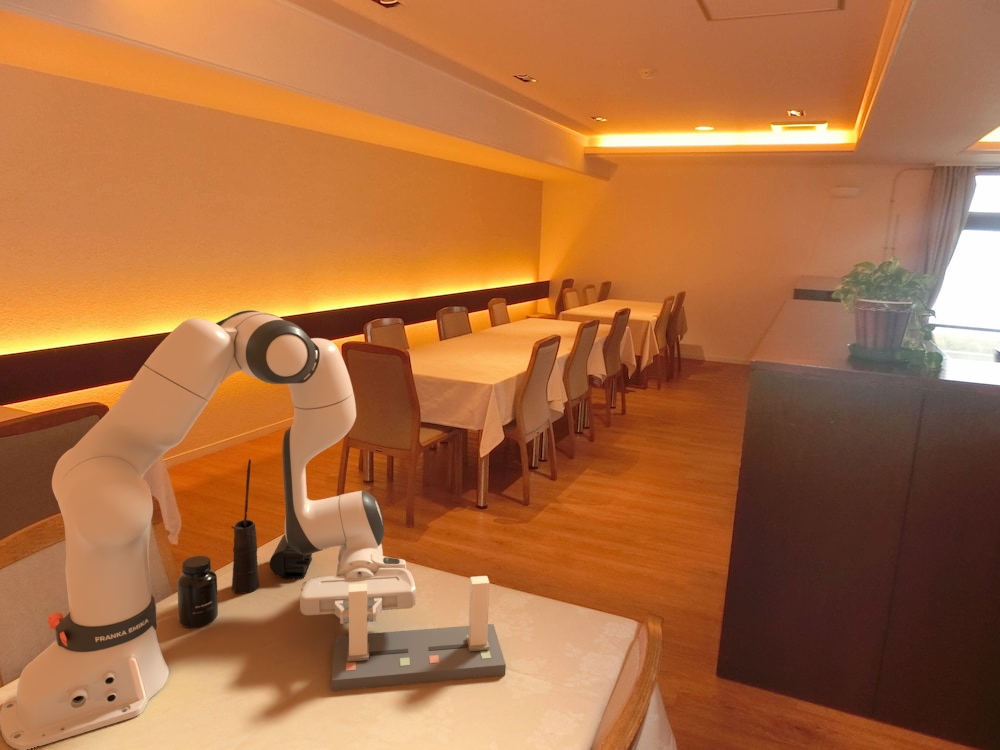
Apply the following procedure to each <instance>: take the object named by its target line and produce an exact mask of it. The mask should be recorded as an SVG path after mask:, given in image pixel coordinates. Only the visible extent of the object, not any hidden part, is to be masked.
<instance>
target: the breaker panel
mask: <svg viewBox="0 0 1000 750" xmlns="http://www.w3.org/2000/svg"><path fill="white" fill-rule="evenodd" d="M466 635H469V625H464V626H462V625H460V626H449V627H448V626H446V627H438V628H436V627H434V628H423V629H421V628H420V629H409V630H397V631H383V632H373V633H372V632H370V633H367V643H369V660H361V661H349V662H347V656H348V645H349V634H346V635H345V634H344V635H335V640H334V649H333V650H334V651H333V659H332V660H333V661H332V668H331V670H332V671H331V680H330V681H331V684H330V685H331V692H334V691H347V690H356V689H357V690H358V689H367V688H369V689H370V688H378V687H379V688H380V687H390V686H391V687H392V686H399V685H400V686H401V685H410V684H411V685H412V684H420V683H421V684H422V683H424V684H425V683H433V682H443V681H453V680H454V681H455V680H464V679H465V680H466V679H474V678H475V679H477V678H487V677H497V676H498V677H499V676H505V675H506V672H507V671H506V670H507V667H506V666H507V665H506V661H505V657H504V654H503V651H502V647H501V643H500V641H499V638H498V634H497V631H496V628H495V625H494V623H488V635H487V640H488V643H489V647H490V649H489V650H478V651H469V648H468V643H467V639H466Z"/></svg>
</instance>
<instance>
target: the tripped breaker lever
mask: <svg viewBox="0 0 1000 750" xmlns="http://www.w3.org/2000/svg"><path fill="white" fill-rule="evenodd" d="M367 634H368V622H367V583H366V584H350V585H349V623H348V635H349V645H348V656H347V662H349V661H361V660H369V643H367Z"/></svg>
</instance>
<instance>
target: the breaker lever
mask: <svg viewBox="0 0 1000 750" xmlns="http://www.w3.org/2000/svg"><path fill="white" fill-rule="evenodd" d="M469 578H470V579H469V580H470V581H469V582H470V585H469V588H470V589H469V611H468V612H469V613H468V615H469V617H468V626H469V635H466V639H467V643H468V648H469V651H478V650H489V649H490V647H489V643H488V640H487V635H488V624H489V605H490V580H489V578H488V576H487V575H477V576H470V577H469Z"/></svg>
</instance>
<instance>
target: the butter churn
mask: <svg viewBox="0 0 1000 750" xmlns="http://www.w3.org/2000/svg"><path fill="white" fill-rule="evenodd" d="M251 462H252V461H251V459H248V463H247V469H246V486H245V500H244V514H243V515H244V517H243V519H242V520H238V522H236V524H235V525H231V528H232V529H233V530H234V531H233V534H234V535H233V536H234V537H233V547H232V552H233V560H232V561H233V564H232V581H231V590H232V592H233V593H234V594H240V593H241V594H248V593H252V592H255V591H256V590H258V589H259V570H258V569H259V565H258V544H257V542H258V541H257V539H258V538H257V531H256V523H255V522H254V521H253V520H249V519H247V518H248V514H247V513H248V510H249V509H248V505H249V493H250V480H251V479H250V477H251V465H252V464H251Z"/></svg>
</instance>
